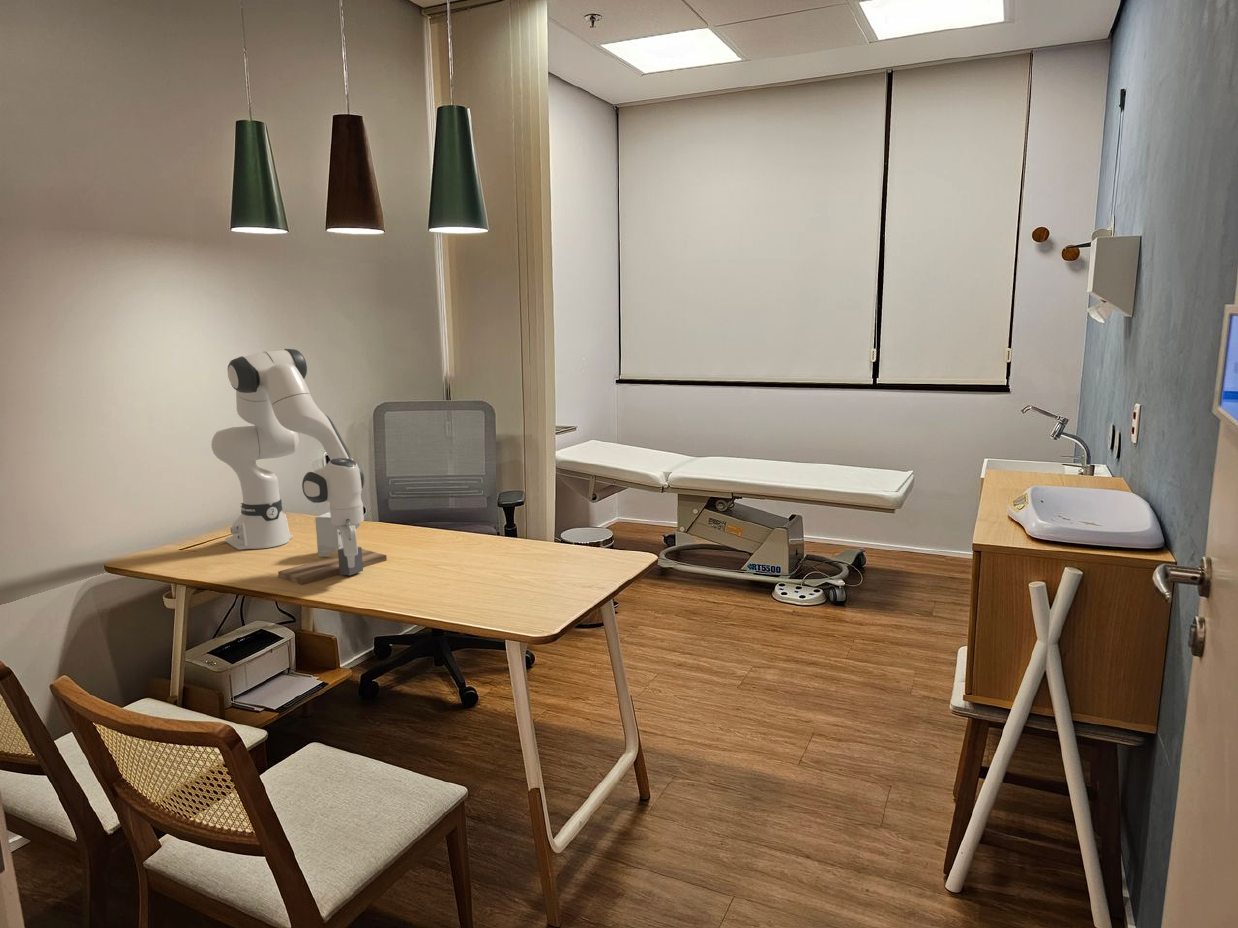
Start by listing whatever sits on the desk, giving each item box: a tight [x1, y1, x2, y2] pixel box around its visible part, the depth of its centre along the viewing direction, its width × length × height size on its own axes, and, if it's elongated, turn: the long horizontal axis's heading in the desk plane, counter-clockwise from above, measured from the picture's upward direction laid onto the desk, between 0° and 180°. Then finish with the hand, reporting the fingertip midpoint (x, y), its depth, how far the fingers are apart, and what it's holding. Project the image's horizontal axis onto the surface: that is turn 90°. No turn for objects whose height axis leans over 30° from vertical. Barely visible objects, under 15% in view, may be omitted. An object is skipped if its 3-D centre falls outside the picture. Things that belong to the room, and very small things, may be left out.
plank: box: [277, 548, 388, 586], centre depth 237 cm, size 12×28×2 cm, turn 142°
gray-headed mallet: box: [328, 546, 364, 576], centre depth 232 cm, size 10×5×7 cm, turn 62°
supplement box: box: [314, 511, 343, 558], centre depth 251 cm, size 7×7×13 cm
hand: (350, 563), depth 230 cm, fingers closed on gray-headed mallet, 6 cm apart
